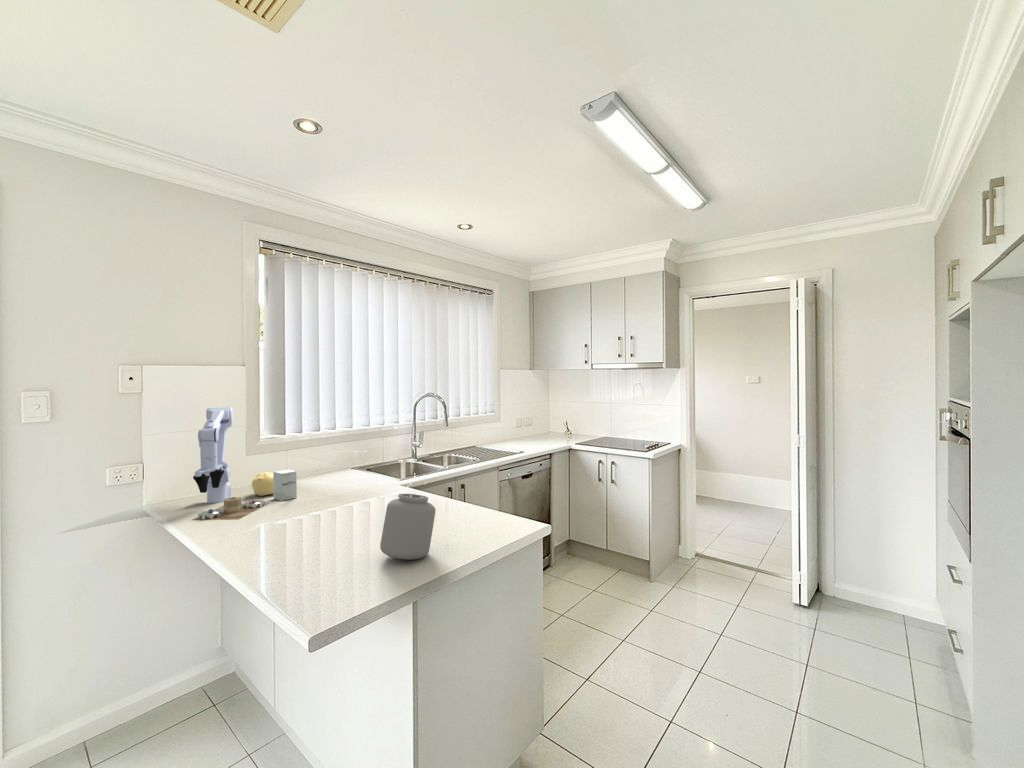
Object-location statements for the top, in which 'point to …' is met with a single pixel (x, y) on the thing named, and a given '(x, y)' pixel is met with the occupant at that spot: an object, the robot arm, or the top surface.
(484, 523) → the top surface
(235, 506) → the octagonal wooden tube
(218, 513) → the gear
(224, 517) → the gear board
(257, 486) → the sculpture
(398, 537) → the jar
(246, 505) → the gear
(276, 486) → the supplement box
